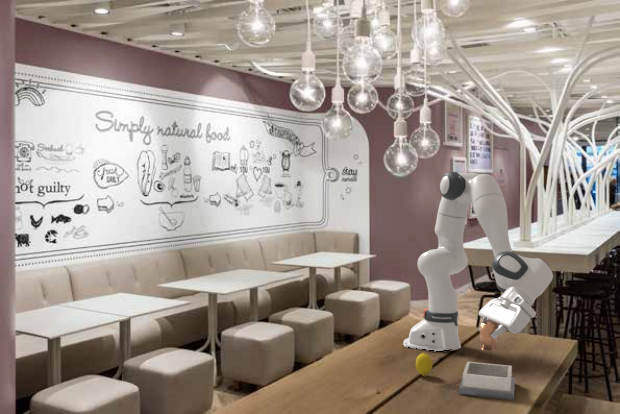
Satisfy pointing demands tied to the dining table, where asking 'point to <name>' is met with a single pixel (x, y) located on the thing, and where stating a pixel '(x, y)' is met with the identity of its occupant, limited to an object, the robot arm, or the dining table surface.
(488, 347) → the copper upright cylinder
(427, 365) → the lemon
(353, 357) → the dining table surface
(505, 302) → the robot arm
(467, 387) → the open square box
